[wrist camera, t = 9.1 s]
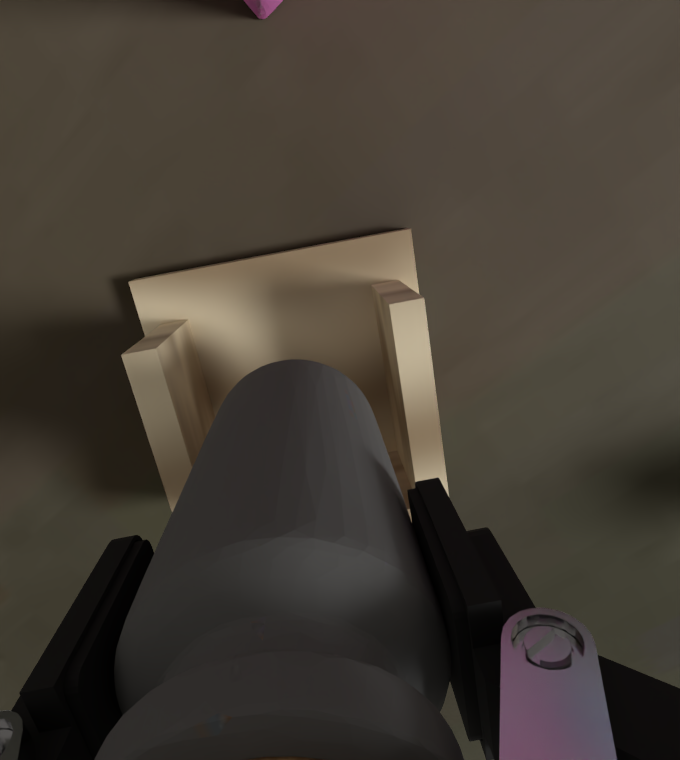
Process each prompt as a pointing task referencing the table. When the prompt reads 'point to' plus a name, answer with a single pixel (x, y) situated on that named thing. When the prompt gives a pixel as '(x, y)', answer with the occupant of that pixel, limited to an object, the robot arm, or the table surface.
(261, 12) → the gum box
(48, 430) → the table surface
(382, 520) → the bottle
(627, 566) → the table surface
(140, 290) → the u rest
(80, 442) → the table surface
